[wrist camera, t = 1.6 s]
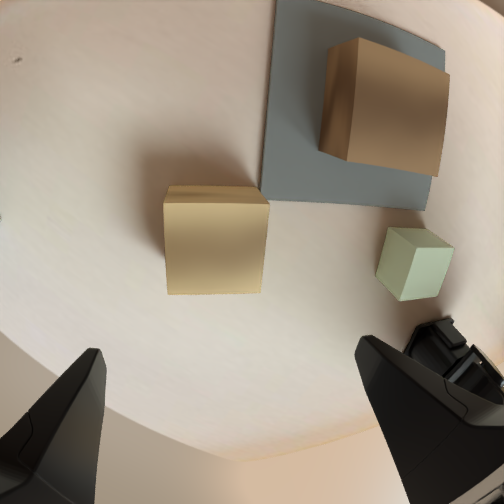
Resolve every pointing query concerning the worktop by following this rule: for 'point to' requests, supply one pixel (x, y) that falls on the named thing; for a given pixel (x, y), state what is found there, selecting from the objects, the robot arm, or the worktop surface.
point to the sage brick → (413, 263)
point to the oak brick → (214, 239)
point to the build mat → (311, 108)
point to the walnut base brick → (383, 108)
